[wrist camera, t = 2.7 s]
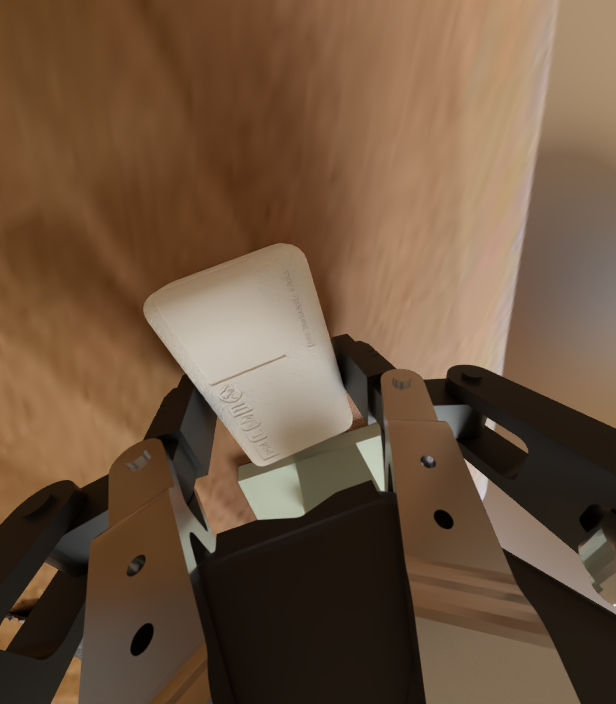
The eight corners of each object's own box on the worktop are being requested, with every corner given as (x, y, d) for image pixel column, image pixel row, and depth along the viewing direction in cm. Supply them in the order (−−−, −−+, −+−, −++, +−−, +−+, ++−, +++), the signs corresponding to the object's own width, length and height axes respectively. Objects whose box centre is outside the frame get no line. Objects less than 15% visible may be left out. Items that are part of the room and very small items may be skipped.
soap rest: (238, 466, 14) (231, 746, 6) (396, 416, 16) (542, 593, 8) (287, 565, 22) (310, 745, 14) (389, 526, 24) (459, 668, 16)
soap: (338, 394, 14) (360, 431, 11) (253, 430, 13) (256, 477, 11) (288, 236, 9) (306, 238, 7) (158, 284, 9) (122, 306, 6)
